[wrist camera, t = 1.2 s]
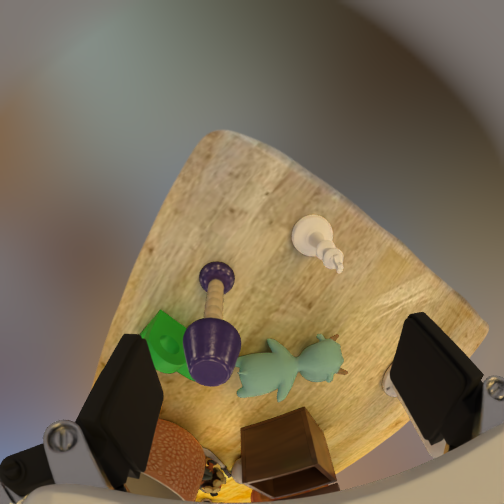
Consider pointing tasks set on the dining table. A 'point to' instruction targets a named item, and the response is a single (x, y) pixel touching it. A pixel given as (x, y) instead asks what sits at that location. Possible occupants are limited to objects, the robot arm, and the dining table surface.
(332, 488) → the lid
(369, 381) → the dining table surface
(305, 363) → the toy
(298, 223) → the chess piece
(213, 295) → the toy lamp
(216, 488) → the toy
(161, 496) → the planter
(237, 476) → the stone
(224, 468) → the knife
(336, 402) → the dining table surface
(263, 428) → the chest
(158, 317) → the mechanical part
